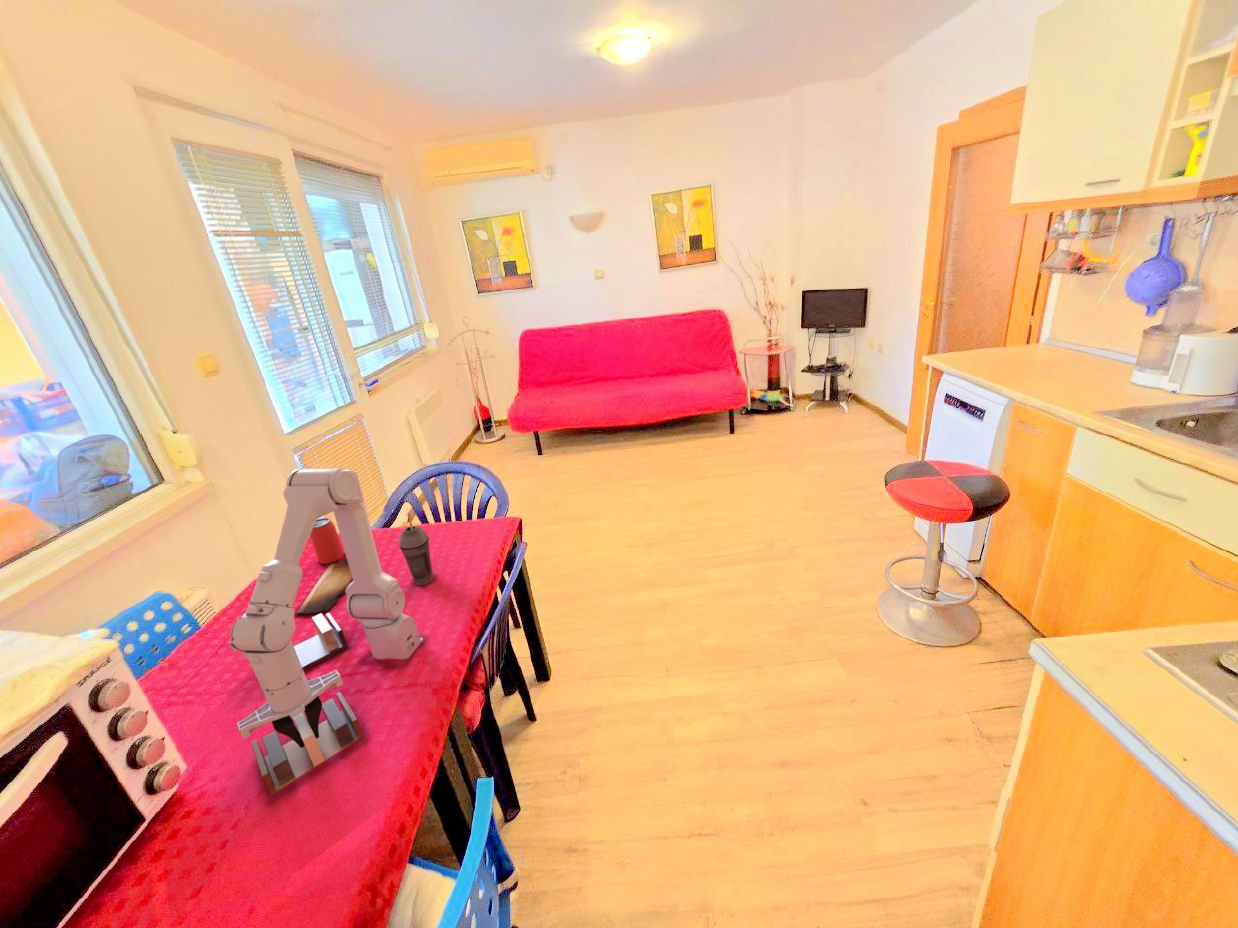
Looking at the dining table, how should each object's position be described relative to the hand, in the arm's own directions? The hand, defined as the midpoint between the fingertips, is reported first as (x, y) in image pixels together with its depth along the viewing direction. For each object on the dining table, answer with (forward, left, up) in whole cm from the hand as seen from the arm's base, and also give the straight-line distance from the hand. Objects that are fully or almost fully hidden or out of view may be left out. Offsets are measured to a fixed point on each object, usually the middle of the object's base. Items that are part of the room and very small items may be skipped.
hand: (308, 739), depth 85 cm
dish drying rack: (+20, -20, -3) cm, 28 cm away
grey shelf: (0, 0, -3) cm, 3 cm away
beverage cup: (+10, -49, -3) cm, 50 cm away
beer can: (+45, -56, -3) cm, 72 cm away
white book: (0, 0, -2) cm, 2 cm away
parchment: (+34, -44, -3) cm, 56 cm away
